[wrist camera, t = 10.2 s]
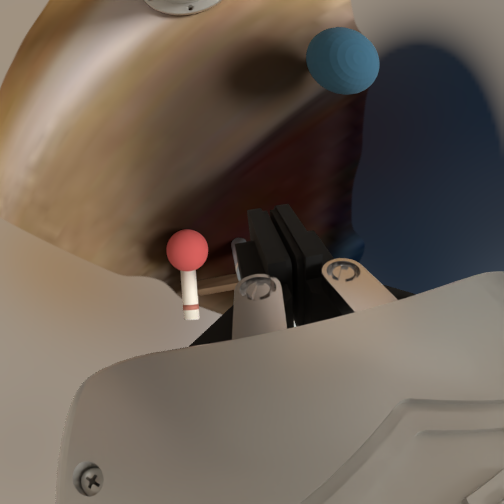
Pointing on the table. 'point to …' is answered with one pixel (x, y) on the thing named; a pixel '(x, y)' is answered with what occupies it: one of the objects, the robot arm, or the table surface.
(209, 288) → the backstop
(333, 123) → the table surface
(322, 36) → the blue ovoid piece
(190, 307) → the ivory pin
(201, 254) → the ball
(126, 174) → the table surface
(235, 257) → the slate-blue pin
